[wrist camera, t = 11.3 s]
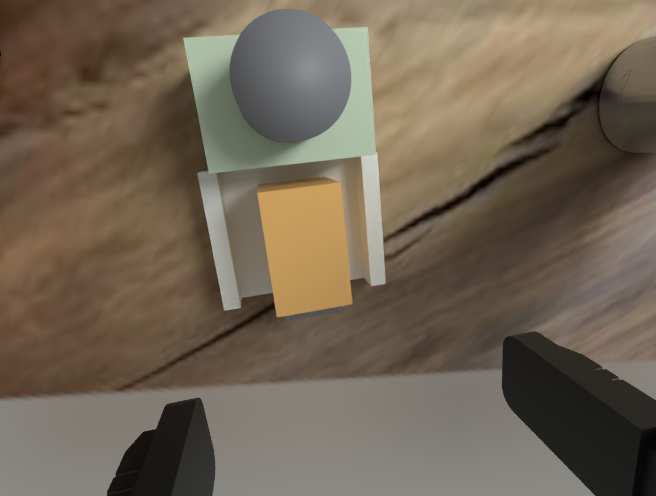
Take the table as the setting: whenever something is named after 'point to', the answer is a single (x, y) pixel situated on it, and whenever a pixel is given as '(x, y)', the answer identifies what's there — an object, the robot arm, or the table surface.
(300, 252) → the tall mustard block
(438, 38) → the table surface
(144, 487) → the robot arm
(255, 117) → the green stand
